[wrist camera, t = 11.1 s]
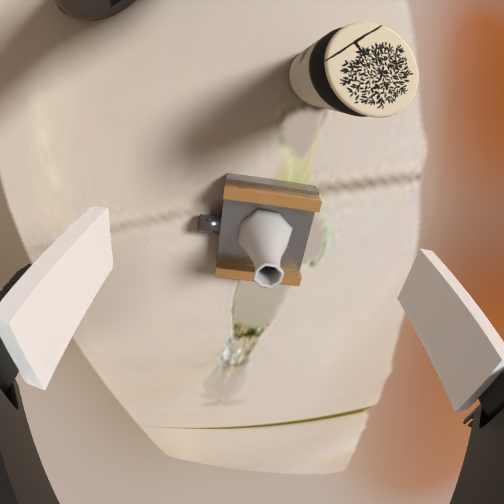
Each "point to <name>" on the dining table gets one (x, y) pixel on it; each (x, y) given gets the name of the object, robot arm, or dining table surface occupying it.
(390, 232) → the dining table surface
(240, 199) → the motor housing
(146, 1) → the dining table surface
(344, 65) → the travel mug
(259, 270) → the flask
